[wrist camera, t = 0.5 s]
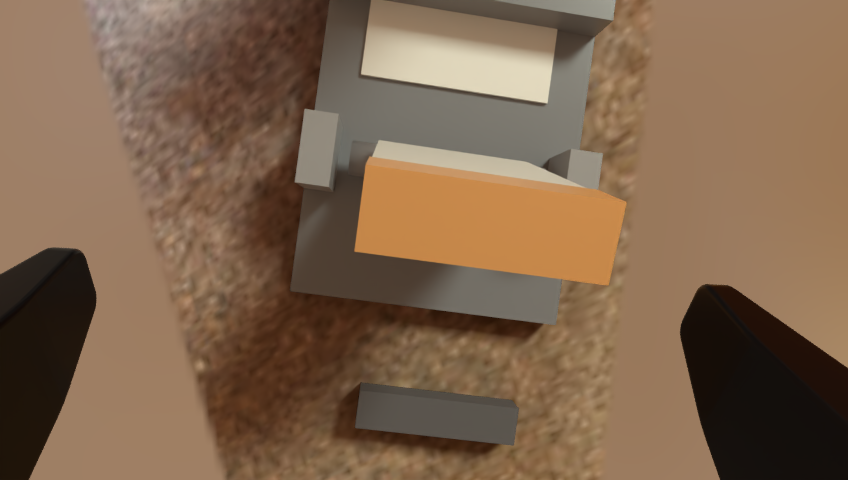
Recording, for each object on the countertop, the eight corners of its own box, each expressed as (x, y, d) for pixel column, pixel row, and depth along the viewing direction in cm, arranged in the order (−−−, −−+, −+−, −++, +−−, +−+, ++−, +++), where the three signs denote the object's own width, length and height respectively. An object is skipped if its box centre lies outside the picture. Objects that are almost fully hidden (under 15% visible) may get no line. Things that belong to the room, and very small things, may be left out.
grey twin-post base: (547, 320, 25) (578, 336, 21) (294, 288, 24) (278, 298, 20) (587, 21, 25) (626, -18, 21) (336, -21, 24) (328, -69, 20)
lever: (533, 205, 23) (648, 291, 13) (348, 179, 22) (310, 245, 12) (542, 160, 22) (668, 208, 12) (354, 132, 22) (320, 157, 12)
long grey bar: (511, 400, 25) (518, 408, 23) (507, 435, 25) (513, 445, 23) (360, 382, 24) (360, 390, 23) (355, 418, 24) (354, 427, 23)
